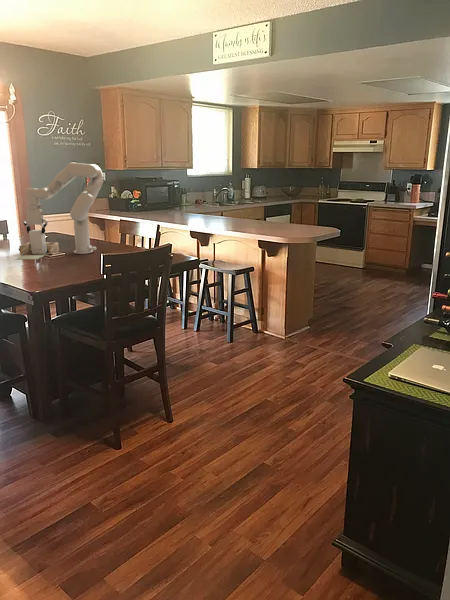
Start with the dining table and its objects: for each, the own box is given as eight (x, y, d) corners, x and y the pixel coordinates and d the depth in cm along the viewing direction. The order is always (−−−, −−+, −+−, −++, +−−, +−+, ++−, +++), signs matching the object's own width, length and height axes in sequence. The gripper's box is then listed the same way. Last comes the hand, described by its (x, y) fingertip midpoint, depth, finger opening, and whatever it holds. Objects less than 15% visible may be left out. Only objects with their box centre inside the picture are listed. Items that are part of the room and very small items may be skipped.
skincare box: (47, 252, 339) (44, 229, 335) (43, 254, 333) (40, 231, 328) (35, 252, 340) (33, 229, 336) (31, 254, 334) (28, 231, 329)
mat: (44, 255, 327) (44, 255, 327) (37, 259, 316) (37, 258, 316) (23, 255, 328) (23, 255, 328) (15, 259, 316) (15, 258, 316)
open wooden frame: (58, 251, 344) (58, 242, 342) (51, 255, 330) (50, 246, 328) (29, 251, 344) (28, 242, 343) (20, 254, 331) (19, 246, 329)
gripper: (49, 207, 331) (51, 232, 336) (23, 206, 332) (25, 232, 336) (44, 208, 324) (46, 234, 329) (18, 207, 324) (21, 233, 329)
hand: (36, 233), depth 332 cm, fingers open, 9 cm apart
